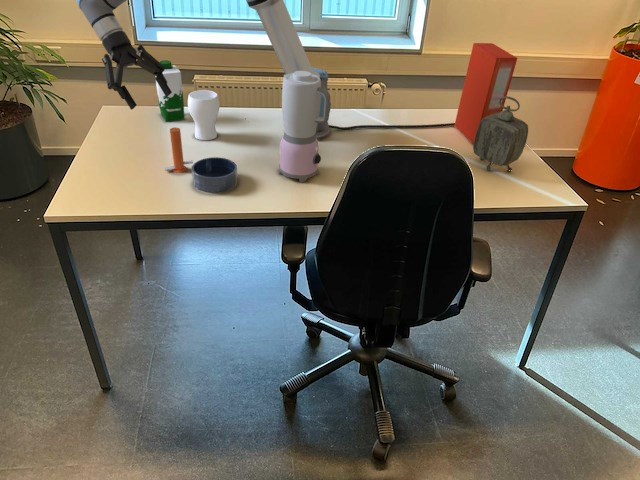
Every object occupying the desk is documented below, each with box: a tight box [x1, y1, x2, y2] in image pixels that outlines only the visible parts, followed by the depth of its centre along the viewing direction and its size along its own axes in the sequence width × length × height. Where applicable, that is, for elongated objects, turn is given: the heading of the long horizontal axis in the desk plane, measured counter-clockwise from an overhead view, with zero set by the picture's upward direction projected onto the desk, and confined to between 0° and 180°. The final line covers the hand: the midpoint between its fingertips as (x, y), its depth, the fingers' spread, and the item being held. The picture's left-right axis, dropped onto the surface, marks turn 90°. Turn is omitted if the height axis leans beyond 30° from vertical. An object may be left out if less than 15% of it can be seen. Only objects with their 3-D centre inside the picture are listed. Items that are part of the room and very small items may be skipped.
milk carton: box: [155, 60, 185, 122], centre depth 192 cm, size 9×9×20 cm
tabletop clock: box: [472, 95, 529, 173], centre depth 171 cm, size 14×9×25 cm, turn 44°
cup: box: [187, 89, 221, 141], centre depth 182 cm, size 11×11×15 cm
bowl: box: [191, 156, 239, 194], centre depth 158 cm, size 13×13×6 cm
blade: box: [164, 126, 194, 174], centre depth 160 cm, size 9×4×14 cm, turn 113°
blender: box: [278, 71, 331, 183], centre depth 158 cm, size 16×12×32 cm
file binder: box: [453, 42, 518, 145], centre depth 191 cm, size 8×17×32 cm, turn 13°
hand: (152, 101), depth 158 cm, fingers open, 13 cm apart
